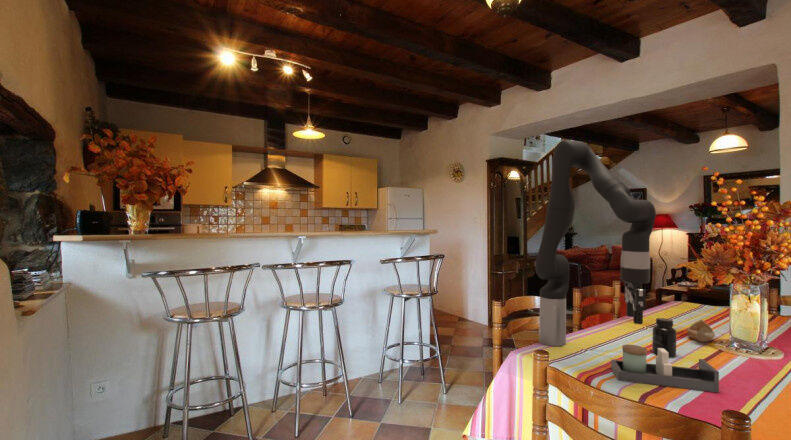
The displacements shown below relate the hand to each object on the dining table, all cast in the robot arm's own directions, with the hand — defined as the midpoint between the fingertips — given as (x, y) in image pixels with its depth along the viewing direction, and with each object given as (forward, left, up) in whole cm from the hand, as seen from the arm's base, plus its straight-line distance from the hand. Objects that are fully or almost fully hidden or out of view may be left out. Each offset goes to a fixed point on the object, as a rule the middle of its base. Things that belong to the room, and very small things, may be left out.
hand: (634, 320), depth 116 cm
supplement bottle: (+15, +24, -17) cm, 33 cm away
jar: (0, -1, -16) cm, 16 cm away
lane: (+7, -1, -17) cm, 18 cm away
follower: (+7, -1, -17) cm, 18 cm away
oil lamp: (+34, +48, -17) cm, 61 cm away
